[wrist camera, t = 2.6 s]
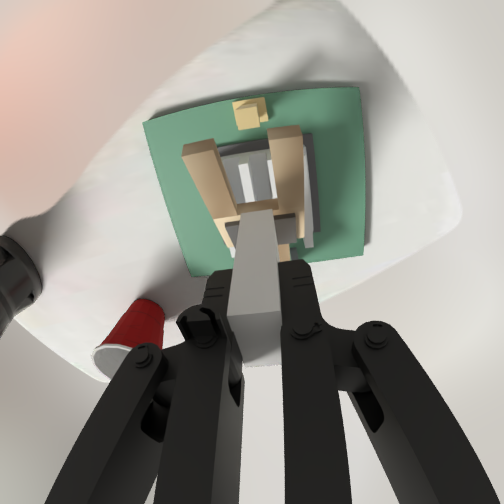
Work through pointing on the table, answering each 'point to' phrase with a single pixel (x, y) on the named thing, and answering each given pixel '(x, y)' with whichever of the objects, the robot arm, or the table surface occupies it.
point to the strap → (228, 211)
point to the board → (283, 112)
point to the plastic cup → (129, 335)
